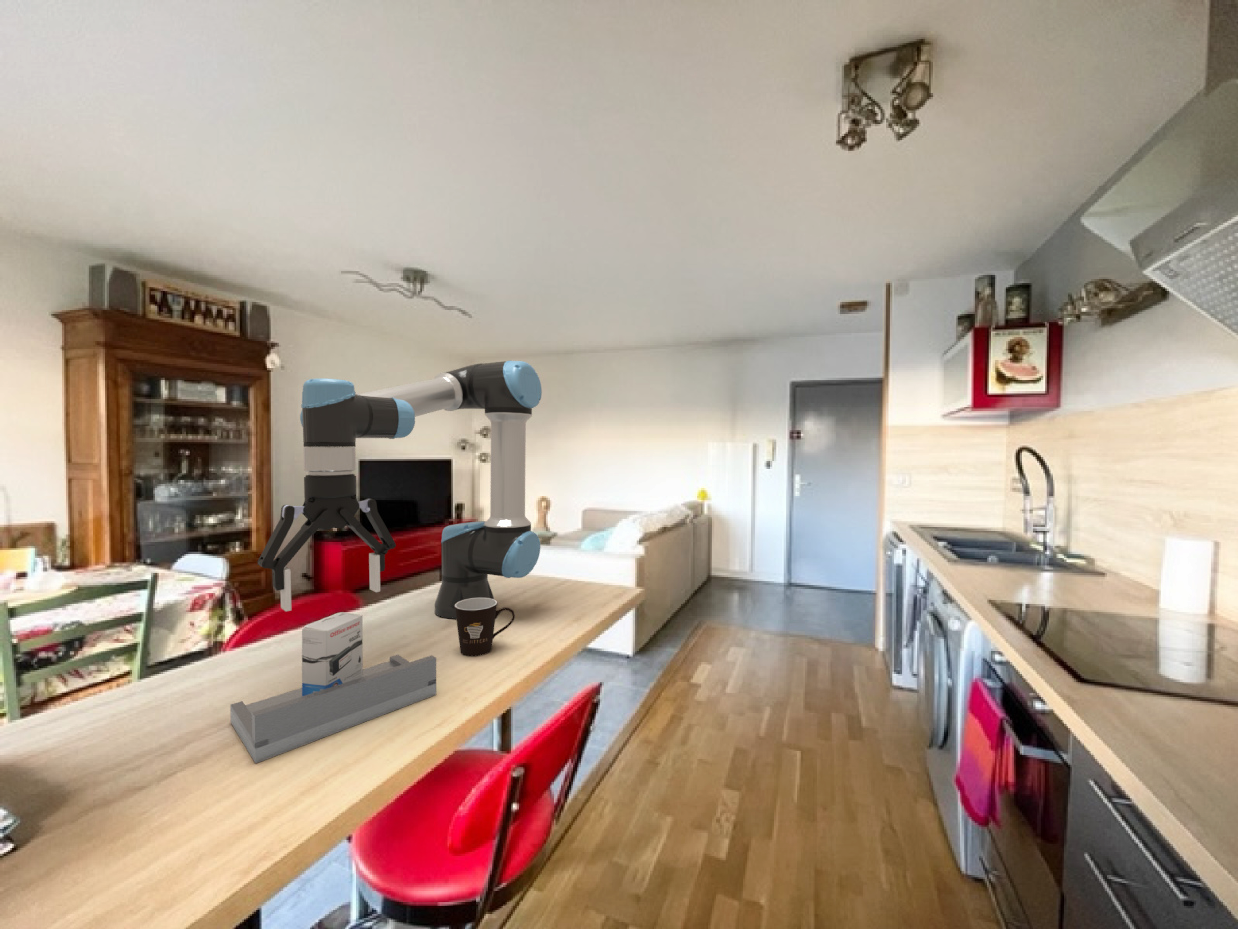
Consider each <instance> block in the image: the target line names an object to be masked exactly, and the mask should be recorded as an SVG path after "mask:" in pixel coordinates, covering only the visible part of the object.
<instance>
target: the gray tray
mask: <svg viewBox="0 0 1238 929" xmlns="http://www.w3.org/2000/svg"><path fill="white" fill-rule="evenodd" d="M436 695H437V657H435V656H434V655H429V656H425V657H422V658H419V659H416V660H415V659H414V660H412V661H409V660H407V659H405V658H404V657H402V656H401V655H399V654H395V655H391V656H389V661H386V662H382V663H379V664H376V665H372V666H369V667H366V668H363V677H362V678H359V679H355V680H352V681H349V682H346V683H343V684H340V685H337V686H333V687H330V688H327V689H324V690H321V691H318V692H314V693H311V694H308V695H305V696H302V687H300V688H296V689H294V690H291V691H287V692H283V693H281V694H277V695H275V696H271V697H268V698H265V699H261V700H257V701H254V702H252V703H249V704H245V703H244V701H238V702H234V703H231V704H230V706H229V708H230V724H231V725H232V727H233V729H234V730H235V732H236V734H237V736H238V737H239V738H240V740H241V742H242V743H243V745H244V747H245V749H246V751H247V752H248V754H249V756H250V757H251V759H252V760H253V762H254V764H258V763H261V762H263V761H266V760H268V759H271V758H273V757H276V756H279V755H281V754H284V753H287V752H289V751H292V750H295V749H298V748H300V747H302V746H305V745H308V744H310V743H313V742H316V741H318V740H322V739H325V737H328V736H331V735H334V734H337V733H339V732H341V731H345V730H348V729H351V728H353V727H355V726H358V725H361V724H363V723H365V722H368V721H371V720H373V719H376V718H379V717H381V716H384V715H386V714H389V713H392V712H394V711H397V710H400V709H403V708H405V707H409V705H412V704H415V703H418V702H421V701H423V700H426V699H428V698H430V697H434V696H436Z"/></svg>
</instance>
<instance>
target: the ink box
mask: <svg viewBox="0 0 1238 929" xmlns="http://www.w3.org/2000/svg"><path fill="white" fill-rule="evenodd" d="M301 630H302V631H301V688H302V696H305V695H308V694H311V693H314V692H318V691H321V690H324V689H327V688H330V687H333V686H337V685H340V684H343V683H346V682H349V681H352V680H355V679H359V678H362V677H363V669H364V668H363V663H364V662H363V655H364V654H363V646H364V645H363V642H364V641H363V614H358V613H350V612H344V611H342V612H337V613H334V614H331V615H330V616H326V617H324V618H321V619H320V620H319V619H318V620H316V621H313V622H310V623H307V624H306V625H304V627H303V628H301Z"/></svg>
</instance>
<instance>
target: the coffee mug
mask: <svg viewBox="0 0 1238 929" xmlns="http://www.w3.org/2000/svg"><path fill="white" fill-rule="evenodd" d="M497 608H498V601H497V600H496V599H495V598H494V599H491V598H470V599H465V600H462V601H459V602H457V603H456V604H455V611H456V628H457V635H458V642H459V650H460V654H461V655H462V656H466V657H479V656H483V655H487V654H489V653H491V652H492V648H493V641H494V639H495V637H496V636H498V635H499V634H500V633H502V632H504V631H506V629H508V628H509V627H510V626H511V624H513V622H514V621H515V618H516V615H515V612H514V610H513V609H512V608H510V607H501V608H499V609H497ZM503 611H508V612H510V613H511V615H512V618H511V619H510V621H509V622H508V623H507V624H506V625H505V626H504V627H502V628H500V629H499V630H498V631H496V632H495V625H496V624H495V623H496V619H497V618H498V617H499V615H500V613H501V612H503Z"/></svg>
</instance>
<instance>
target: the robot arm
mask: <svg viewBox="0 0 1238 929" xmlns="http://www.w3.org/2000/svg"><path fill="white" fill-rule="evenodd" d="M542 393H543V390H542V382H541V380H540V377H539V375H538V373H537V372H536V369H535V368H534V367H533V366H532V364H529V363H528V362H526V361H524V360H506V361H505V360H504V361H496V362H487V363H484V362H483V363H482V362H481V363H475V364H474V363H473V364H470V365H467V366H462V367H460V368H455V369H453V370H450V371H449V370H448V371H446V372H440V373H437V374H436V375H435V376H434V377H433V379H427V380H421V381H416V382H410V383H406V384H401V385H396V386H390V387H386V388H381V389H376V390H370V391H366V392H361V393H356V390H355V384H354V383H353V382H352V381H350V380H345V379H338V378H337V379H336V378H310V379H306V381H304V383H303V385H302V392H301V405H300V407H301V411H300V415H299V419H300V424H301V426H302V438H303V439H302V440H303V441H302V442H303V471H305V472H308V474H306V475H305V476H304V477H303V489H304V490H303V493H304V500H303V504H302V506H301V505H297V506H296V505H290V504H283V505H282V506H281V508H280V516H279V517H280V518H279V520H278V522H277V524H276V526H275V528H274V529H273V532H272V534H271V535H270V537H269V539H268V541H267V542H266V545H265V546H264V548H263V550H262V552H261V554H260V556H259V558H258V559H257V565H258V566H260V567H261V568H263V569H269V570H271V571H272V587H273V589H274V590H275V591H279V592H280V609H282V610H283V611H284V612H290V611H292V582H291V580H292V578H291V577H292V576H291V575H292V574H291V569H290V568H288V566H287V565H288V564H289V563H290V562H291V560H292V559H293V558H294V557H295V556H296V555H297V553H298V552H299V551H300V550H301V549H302V547H303V546H304V545H305V544H306V543H307V542H308V540H309V539H310V538H312V535H314V534H315V533H316V532H317V531H318V530H321V531H329V530H332V529H338V530H339V529H345V528H346V527H348V528H349V529H351V530H352V531H353V532H354V533H355V535H357V536H358V537H359V538H360V539H361V540H362V541H363V542H364V543H365V544H366V545H367V546H369V548H370V549H371V550H372V551H373V552H369V553H368V564H369V565H368V570H369V573H368V574H369V590H371V591H373V592H375V593H379V592H381V572H384V571H385V568H386V554H387V553H388V551H389V550H392V549H395V548H396V544H397V543H396V542H395V539H394V538H393V537H392V535H391V533H390V531H389V530H388V527H387V525H386V524H385V522H384V520H383V519H382V517H381V515H380V513H379V510H378V505H377V501H376V500H375V499H373V498H365V499H364V500H359V501H358V500H357V475H356V474H355V473H353V471H356V470H357V461H356V459H357V457H356V444H357V443H356V442H357V441H356V439H389V440H394V439H403V438H405V437H408V436H409V435H410V434H412V432H413V430H414V428H415V424H416V418H415V417H419V416H423V415H427V414H430V413H431V414H432V413H434V412H437V411H442V410H444V411H447V412H454V411H457V410H468V409H469V410H470V409H472V410H484V416H485V417H486V418H488V420H489V421H490V503H489V505H490V511H489V512H490V516H489V518H488V519H487V520H486V521H482V520H481V521H470V522H461V523H457V524H450V525H447V526H445V527H444V528H443V529H442V532H441V541H440V546H441V547H440V548H441V549H440V550H441V552H440V553H441V554H440V555H441V584H440V587H439V591H438V594H437V595H436V600H435V603H434V614H435V613H436V614H435V615H436V616H438V617H440V616H441V617H440V618H446V619H453V620H455V619H456V611H455V604H456V603H457V602H459V601H462V600H465V599H470V598H491V599H494V600H495V597H494V595H493V591H492V588H491V586H490V582H489V576H488V575H491V576H498V577H504V578H507V579H510V578H512V579H513V578H515V579H517V578H518V579H519V578H525V577H527V575H529V574H530V573H531V572H532V570H534V567H535V566H536V565H537V563H538V561H539V558H540V554H541V540H540V538H539V535H538V534H537V533H536V532H534V531H532V523H531V521H530V520H529V519H528V518H527V517H526V434H527V433H526V424H527V421H528V420H530V418H531V417H533V409H534V408H536V407H537V406H538V405H539V404H540V401H541V400H542ZM359 509H360V510H361V511H362V513H365V515H366V517H367V519H368V521H369V522H370V524H371V525H372V527H373V530H374V531H375V533H376V535H377V536H378V538H379V540H380V542H379V541H378V539H377V538H376V537H374V536H373V534H371V533H370V532H369V531H368V530H367V529H366V528H365V527H364V526H363V525H362V523H361V522H360V521H359V520H358V519H357V518H356V517H355V516H356V514H357V513H358V511H359ZM301 514H302V515H303V516H304V517H305V518H306V519H307V520H305V522H304V523H303V524H302V525H301V527H300V529H299V530H298V531H297V533H295V535H294V536H293V537H292V538H291V540H290V541H289V542H288V543H287V545H285V546H284V548H282V550H281V551H280V553H279V554H278V552H279V550H280V549H281V546H282V545H283V542H285V539H286V537H287V535H288V533H289V531H290V529H291V527H292V525H293V523H294V520H297V519H298V518H299V516H300V515H301ZM277 554H278V555H277Z"/></svg>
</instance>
